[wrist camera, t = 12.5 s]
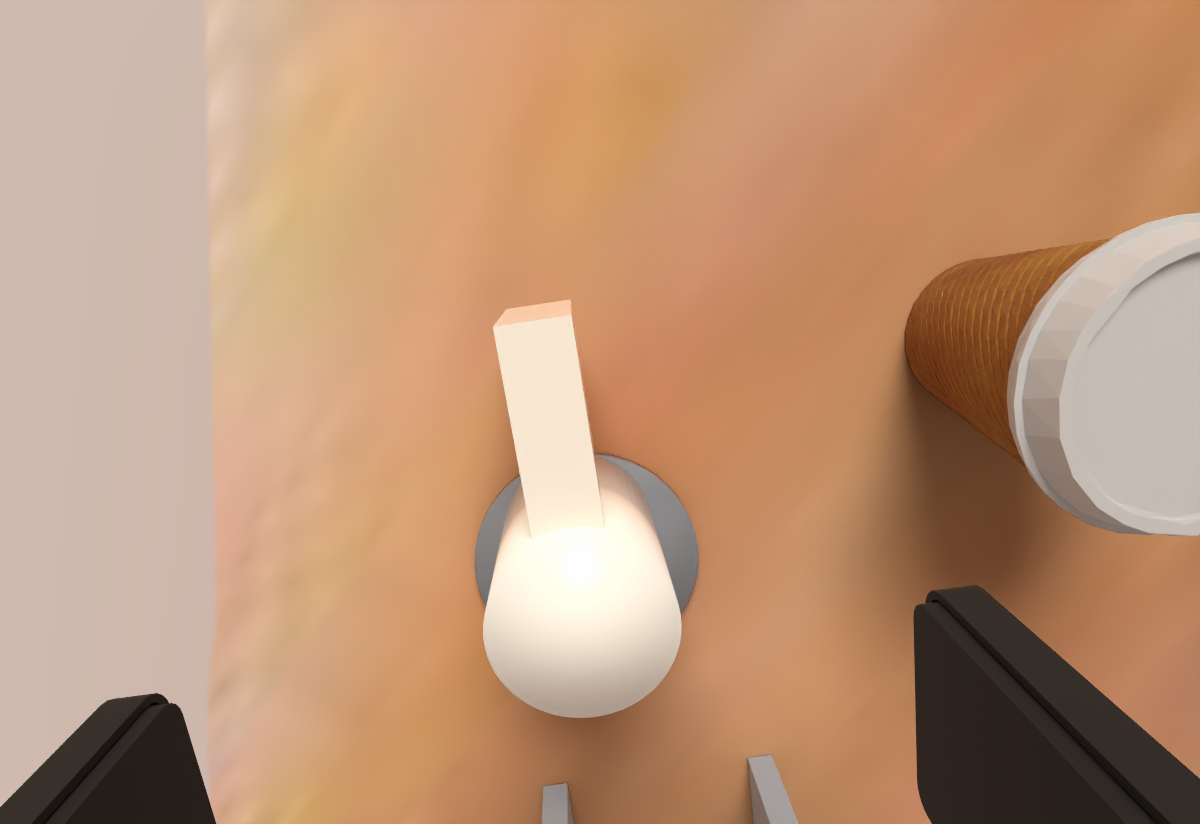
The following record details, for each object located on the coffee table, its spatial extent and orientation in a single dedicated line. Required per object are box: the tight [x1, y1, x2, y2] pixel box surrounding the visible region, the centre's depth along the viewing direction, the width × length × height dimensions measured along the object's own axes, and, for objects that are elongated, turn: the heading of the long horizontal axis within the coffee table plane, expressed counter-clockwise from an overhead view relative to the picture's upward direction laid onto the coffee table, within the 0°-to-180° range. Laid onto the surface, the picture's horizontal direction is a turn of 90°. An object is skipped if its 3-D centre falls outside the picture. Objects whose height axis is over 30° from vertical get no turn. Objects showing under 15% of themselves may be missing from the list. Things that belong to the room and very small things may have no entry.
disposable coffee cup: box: [905, 213, 1200, 536], centre depth 26 cm, size 10×10×12 cm
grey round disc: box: [475, 453, 698, 614], centre depth 33 cm, size 10×10×1 cm
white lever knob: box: [483, 299, 682, 718], centre depth 27 cm, size 13×6×9 cm, turn 8°
